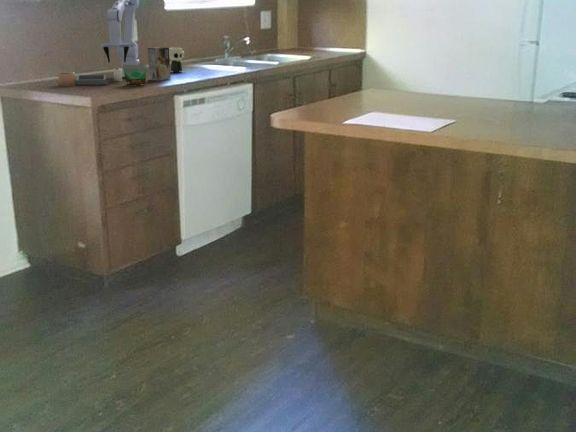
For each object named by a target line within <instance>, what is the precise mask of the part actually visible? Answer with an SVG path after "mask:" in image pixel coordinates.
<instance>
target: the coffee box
mask: <svg viewBox="0 0 576 432" xmlns="http://www.w3.org/2000/svg"><path fill="white" fill-rule="evenodd" d="M169 48H170V47H164V46H157V47H147V57H148V58H147V60H148V77H149V81H155V80H156V81H165V80H171V62H170V61H171V60H170V58H169Z"/></svg>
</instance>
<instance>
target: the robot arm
mask: <svg viewBox="0 0 576 432" xmlns="http://www.w3.org/2000/svg"><path fill="white" fill-rule="evenodd" d="M139 5H140V0H117V1H115V2H114V3H113V5H112V7H111V8H110V9H108V10H106V15H105V17H106V20H107V25H108V33H109V42H108V43H107V42H106V43H100V48H101V49H103V51H104V53H105V56H106V58H107V61H108V62H107V63H109V64H110V62H111V60H110V51H109V50H110V49H109V48H112V49H113V48H117V56H118V58H119V59H120V60H121V69H122V67H123V64H124V65H141V64H140V59H138V57H139V44H138V43H137V42H135V40H134V34H135V33H134V32H135V20H136V11H137V9H138V8H139ZM124 11H125V19H124V30H123V31H124V33H123V39H122V29H121V27H122V26H121V21H123V20H122V18H123V13H124ZM122 78H125V74H124V69H122Z"/></svg>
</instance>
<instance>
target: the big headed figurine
mask: <svg viewBox="0 0 576 432" xmlns="http://www.w3.org/2000/svg"><path fill="white" fill-rule="evenodd" d="M168 48H169V60H170V61H171V62H170V72H173V73H180V72H183V66H182V62H181V61H182V60H183V58H185V51H184V50H183V48H182V47H168Z"/></svg>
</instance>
